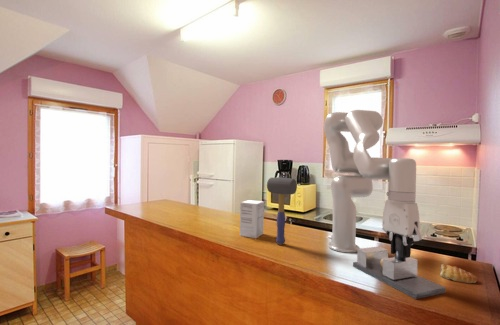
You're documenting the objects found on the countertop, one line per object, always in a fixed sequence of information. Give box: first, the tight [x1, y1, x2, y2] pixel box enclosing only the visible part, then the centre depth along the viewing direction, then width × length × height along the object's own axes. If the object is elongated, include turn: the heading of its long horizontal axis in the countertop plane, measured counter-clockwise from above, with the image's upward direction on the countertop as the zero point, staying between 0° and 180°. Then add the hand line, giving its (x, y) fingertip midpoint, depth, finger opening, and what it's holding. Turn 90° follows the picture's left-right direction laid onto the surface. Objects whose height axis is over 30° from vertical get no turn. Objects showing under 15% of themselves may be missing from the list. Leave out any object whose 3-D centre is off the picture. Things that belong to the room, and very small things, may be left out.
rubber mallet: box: [266, 176, 298, 246], centre depth 119 cm, size 12×8×30 cm, turn 56°
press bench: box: [352, 246, 447, 300], centre depth 86 cm, size 24×12×6 cm, turn 21°
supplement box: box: [239, 199, 265, 239], centre depth 134 cm, size 10×9×17 cm
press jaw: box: [383, 233, 418, 280], centre depth 84 cm, size 4×10×13 cm, turn 111°
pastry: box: [440, 263, 477, 284], centre depth 87 cm, size 9×7×4 cm
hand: (400, 254), depth 84 cm, fingers closed on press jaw, 3 cm apart
